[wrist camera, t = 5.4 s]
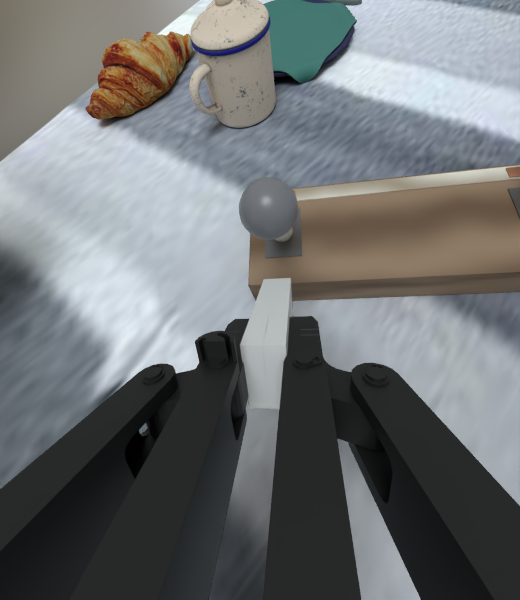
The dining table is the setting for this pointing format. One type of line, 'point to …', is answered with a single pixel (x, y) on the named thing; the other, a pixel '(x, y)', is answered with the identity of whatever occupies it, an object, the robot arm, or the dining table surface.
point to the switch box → (400, 237)
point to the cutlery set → (307, 34)
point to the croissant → (138, 73)
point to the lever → (269, 209)
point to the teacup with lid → (234, 62)
